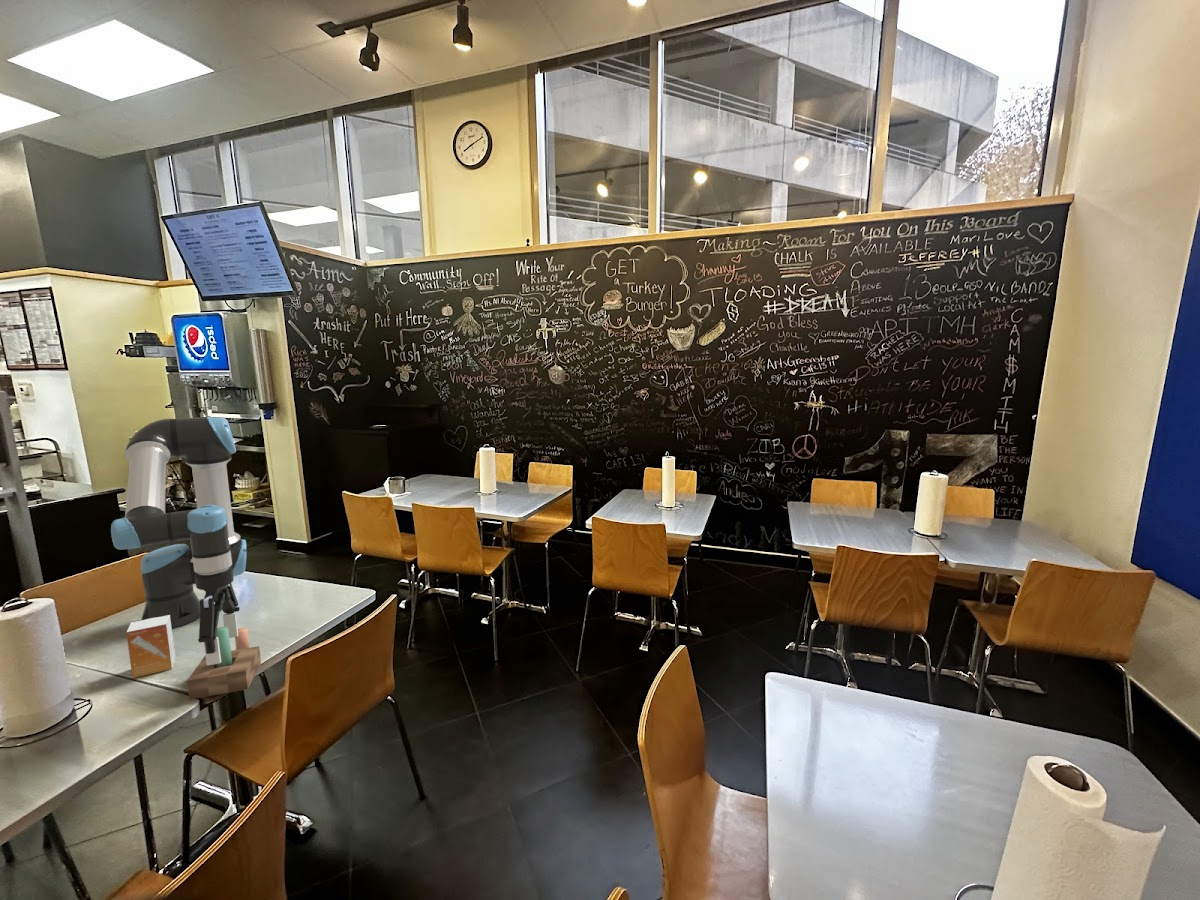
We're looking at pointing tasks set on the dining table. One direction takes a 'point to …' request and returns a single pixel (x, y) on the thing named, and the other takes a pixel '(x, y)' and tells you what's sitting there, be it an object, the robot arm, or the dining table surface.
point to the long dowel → (224, 646)
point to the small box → (150, 646)
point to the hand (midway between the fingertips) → (223, 649)
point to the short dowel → (242, 639)
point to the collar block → (224, 674)
